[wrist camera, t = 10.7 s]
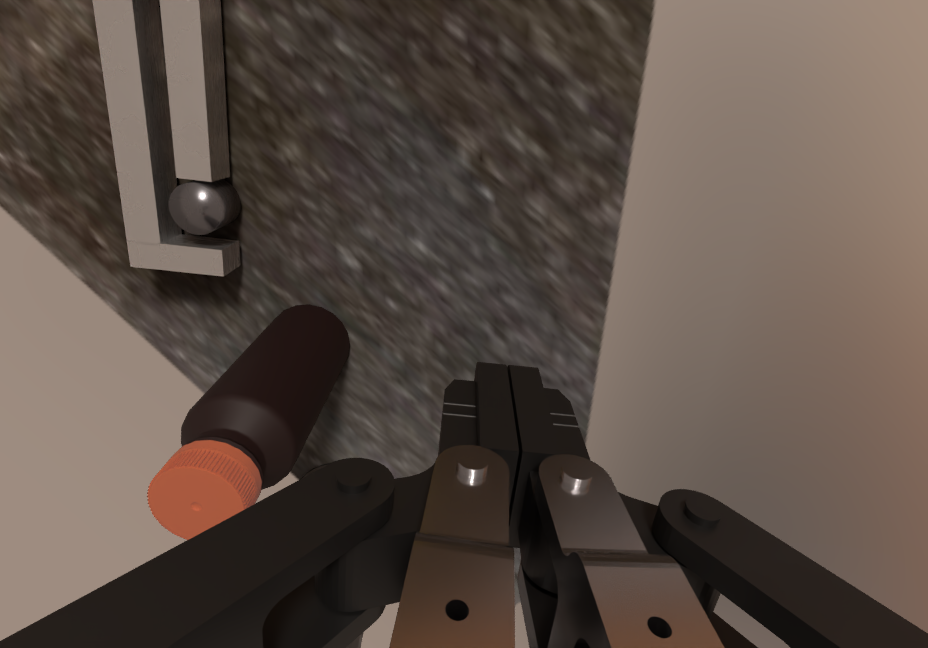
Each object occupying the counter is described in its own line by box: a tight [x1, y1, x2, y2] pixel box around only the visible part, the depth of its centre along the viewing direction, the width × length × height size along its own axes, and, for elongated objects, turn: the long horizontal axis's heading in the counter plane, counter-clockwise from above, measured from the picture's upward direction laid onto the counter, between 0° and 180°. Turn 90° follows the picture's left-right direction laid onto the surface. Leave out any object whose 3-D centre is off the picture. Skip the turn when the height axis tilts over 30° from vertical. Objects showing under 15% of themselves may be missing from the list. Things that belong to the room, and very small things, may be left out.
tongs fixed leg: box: [93, 0, 240, 277], centre depth 35 cm, size 24×7×3 cm, turn 174°
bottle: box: [147, 305, 350, 540], centre depth 35 cm, size 7×7×20 cm
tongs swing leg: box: [160, 0, 241, 235], centre depth 35 cm, size 21×4×3 cm, turn 173°
